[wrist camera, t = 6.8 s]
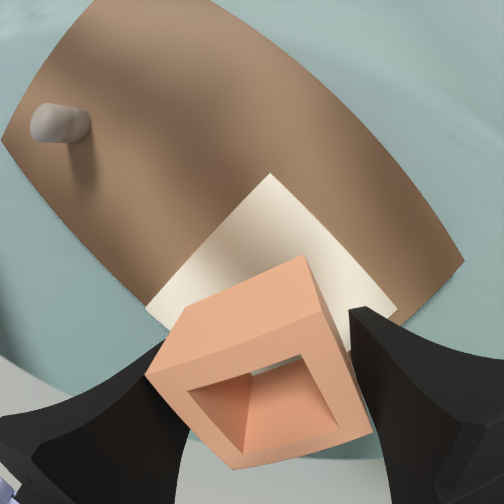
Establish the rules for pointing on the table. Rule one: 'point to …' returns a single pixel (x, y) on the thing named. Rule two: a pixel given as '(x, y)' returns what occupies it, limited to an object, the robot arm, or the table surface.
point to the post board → (219, 166)
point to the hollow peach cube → (267, 383)
